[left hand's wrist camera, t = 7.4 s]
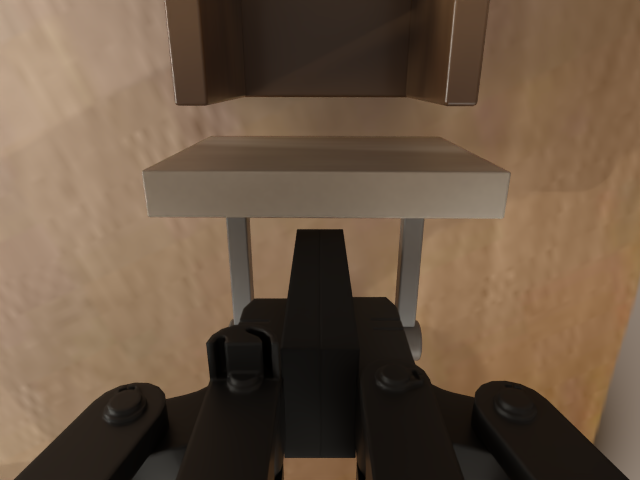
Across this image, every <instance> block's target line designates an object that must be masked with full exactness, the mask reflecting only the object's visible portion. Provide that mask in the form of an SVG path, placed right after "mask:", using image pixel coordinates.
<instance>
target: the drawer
mask: <svg viewBox="0 0 640 480" xmlns="http://www.w3.org/2000/svg"><path fill="white" fill-rule="evenodd" d="M489 1H490V0H164V3H165V13H166V22H167V31H168V40H169V50H170V59H171V68H172V78H173V87H174V96H175V103H176V105H181V106H206V105H210V104H215V103H219V102H224V101H228V100H233V99H237V98H242V97H409V98H413V99H418V100H422V101H427V102H431V103H436V104H440V105H445V106H474V105H476V104H477V101H478V93H479V85H480V76H481V68H482V60H483V51H484V43H485V35H486V26H487V18H488V10H489ZM510 175H511V174H510V172H509V171H507V170H505V169H503V168H501V167H499V166H497V165H495V164H493V163H491V162H489V161H487V160H485V159H483V158H481V157H479V156H477V155H475V154H473V153H471V152H469V151H467V150H465V149H463V148H461V147H459V146H457V145H455V144H453V143H451V142H449V141H447V140H445V139H443V138H441V137H332V136H211V137H208V138H207V139H205V140H203V141H201V142H199V143H197V144H195V145H193V146H191V147H189V148H187V149H185V150H183V151H181V152H179V153H177V154H175V155H173V156H171V157H169V158H167V159H165V160H163V161H161V162H159V163H157V164H155V165H153V166H151V167H149V168H147V169H145V170H143V171H142V177H143V184H144V192H145V199H146V206H147V213H148V217H226V223H227V237H228V250H229V263H230V276H231V289H232V303H233V316H234V319H233V320H231V322H230V324H229V327H230V326H233V325H238V324H239V322H240V317H241V314H242V311H243V308H244V307H245V306H247V305H248V304H249V303H250V302H251V301H252V300H253V299H254V289H253V271H252V254H251V236H250V218H401V225H400V240H399V254H398V269H397V284H396V298H395V306H396V307H397V309H398V312H399V315H400V320H401V322H402V325H403V328H404V331H405V334H406V337H407V340H408V343H409V347H410V350H411V353H412V356H413V359H414V361H417V360H419V359H420V357H421V352H422V334H421V328H420V325H419V322H418V321H416V308H417V297H418V285H419V274H420V263H421V251H422V240H423V228H424V218H444V219H503V218H504V214H505V207H506V201H507V194H508V188H509V181H510Z"/></svg>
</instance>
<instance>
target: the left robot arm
mask: <svg viewBox="0 0 640 480" xmlns="http://www.w3.org/2000/svg"><path fill="white" fill-rule="evenodd" d="M206 346H207V355H208V364H209V373H210V382H209V385H208V386H207V387H205V388H203V389H201V390H199V391H197V392H193V393H190V394H187V395H183V396H178V397H174V398H169V399H166V398H165V394H164V392H163V391H162V390H161V389H160V388H159V387H157V386H155V385H152V384H149V383H131V384H127V385H122V386H119V387H117V388H114V389H112V390H110V391H108V392H106V393H104V394H103V395H102V396H100V397H99V398H98V399H96V400H95V401H94V402H93V403H92V404H91V405H90V406H89V407H88V408H87V409H85V410H84V411H83V412H82V413H81V414H80V415H79V416H78V417H77V418H76V419H75V420H74V421H73V422H72V423H71V424H70V425H69V426H68V427H67V428H66V429H65V430H64V431H63V432H62V433H61V434H60V435H59V436H58V437H57V438H56V439H55V440H54V441H53V442H52V443H51V444H50V445H49V446H48V447H47V448H46V449H45V450H44V451H43V452H42V453H41V454H40V455H39V456H38V457H36V458H35V459H34V460H33V461H32V462H31V463H30V464H29V465H28V466H27V467H26V468H25V469H24V470H23V471H22V472H21V473H20V474H19V475H18V476H17V477H16V478H15V479H14V480H284V472H283V458H284V457H285V458H356V456H357V472H356V480H629V479H628V478H627V477H626V476H625V475H624V474H623V473H622V472H621V471H620V470H619V469H618V468H617V467H616V466H615V465H614V464H613V463H612V462H611V461H610V460H609V459H607V458H606V457H605V456H604V455H603V454H602V453H601V452H600V451H599V450H598V449H597V448H596V447H595V446H594V445H593V444H592V443H591V442H590V441H589V440H588V439H587V438H586V437H585V436H584V435H583V434H582V433H581V432H580V431H579V430H578V429H577V428H576V427H575V426H574V425H573V424H571V423H570V422H569V421H568V420H567V419H566V418H565V417H564V416H563V415H562V414H561V413H560V412H559V411H558V410H557V409H556V408H555V407H554V406H553V405H552V404H551V403H550V402H549V401H548V400H547V399H545V398H544V397H543V396H541V395H540V394H539V393H537V392H536V391H535V390H533V389H530V388H528V387H526V386H524V385H521V384H518V383H513V382H508V381H491V382H489V383H486V384H483V385H481V386H480V387H479V389H478V390H477V391H476V392H475V398H474V397H470V396H465V395H461V394H457V393H453V392H449V391H446V390H443V389H441V388H439V387H436V386H434V385H432V384H431V382H430V379H429V377H428V376H427V374H426V373H425V371H424V370H422V369H421V368H420V367H418V366H417V365H415V362H414V359H413V356H412V353H411V350H410V347H409V343H408V340H407V337H406V334H405V331H404V328H403V325H402V322H401V320H400V315H399V312H398V309H397V307H396V306H395V305H394V304H393V303H392V302H391V301H390V300H388V299H387V298H386V297H352V290H351V283H350V276H349V269H348V262H347V255H346V248H345V241H344V234H343V229H297V234H296V241H295V248H294V255H293V262H292V270H291V277H290V284H289V291H288V298H287V299H253V300H252V301H251V302H250V303H249V304H248V305H247V306H245V307H244V308H243V311H242V314H241V317H240V322H239V324H238V325H233V326H230V327H227V328H224V329H221V330H220V331H218V332H217V333H215V334H213V335H212V336H211V337H210V339H209V340H208V341H207V343H206Z"/></svg>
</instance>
